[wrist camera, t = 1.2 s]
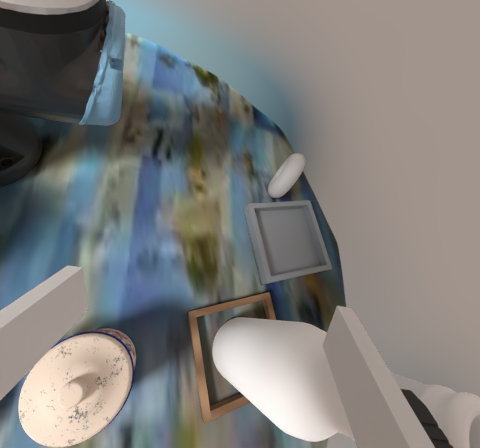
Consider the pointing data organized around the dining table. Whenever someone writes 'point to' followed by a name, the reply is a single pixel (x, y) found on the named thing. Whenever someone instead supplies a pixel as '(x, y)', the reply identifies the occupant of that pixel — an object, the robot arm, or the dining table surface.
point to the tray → (285, 240)
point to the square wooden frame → (206, 409)
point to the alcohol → (317, 382)
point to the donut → (286, 175)
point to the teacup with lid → (77, 387)
